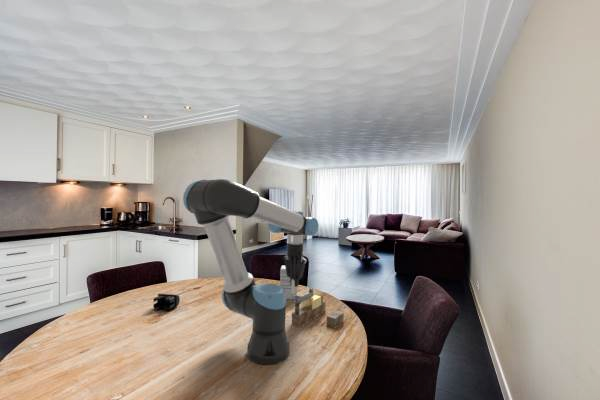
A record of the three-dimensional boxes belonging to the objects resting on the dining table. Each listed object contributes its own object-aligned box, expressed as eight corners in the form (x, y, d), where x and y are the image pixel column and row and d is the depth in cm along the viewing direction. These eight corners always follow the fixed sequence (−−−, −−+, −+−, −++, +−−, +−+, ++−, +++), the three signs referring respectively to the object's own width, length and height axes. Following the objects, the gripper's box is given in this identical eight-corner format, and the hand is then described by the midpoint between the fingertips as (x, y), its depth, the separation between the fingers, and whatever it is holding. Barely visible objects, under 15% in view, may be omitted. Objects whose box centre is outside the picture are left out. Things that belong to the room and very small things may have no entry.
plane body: (299, 327, 120) (299, 305, 120) (291, 324, 123) (292, 303, 123) (325, 311, 138) (325, 292, 138) (318, 309, 140) (318, 290, 140)
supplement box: (296, 299, 153) (296, 269, 153) (279, 299, 153) (280, 268, 153) (296, 294, 163) (297, 265, 163) (281, 293, 163) (281, 264, 163)
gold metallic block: (312, 310, 126) (312, 301, 126) (301, 306, 130) (301, 298, 130) (321, 304, 133) (321, 296, 133) (310, 302, 136) (311, 293, 136)
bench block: (335, 327, 120) (335, 318, 120) (326, 325, 123) (326, 316, 123) (343, 321, 127) (343, 312, 127) (335, 319, 129) (335, 310, 129)
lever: (298, 304, 120) (298, 296, 120) (292, 303, 122) (292, 295, 122) (314, 296, 131) (315, 288, 131) (309, 295, 133) (309, 287, 133)
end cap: (179, 306, 141) (180, 293, 141) (171, 312, 134) (171, 298, 134) (161, 305, 142) (161, 291, 142) (152, 310, 135) (152, 296, 135)
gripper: (311, 243, 131) (310, 293, 131) (289, 240, 139) (288, 288, 139) (301, 245, 125) (300, 298, 125) (279, 242, 133) (278, 292, 133)
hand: (294, 292), depth 132 cm, fingers closed
